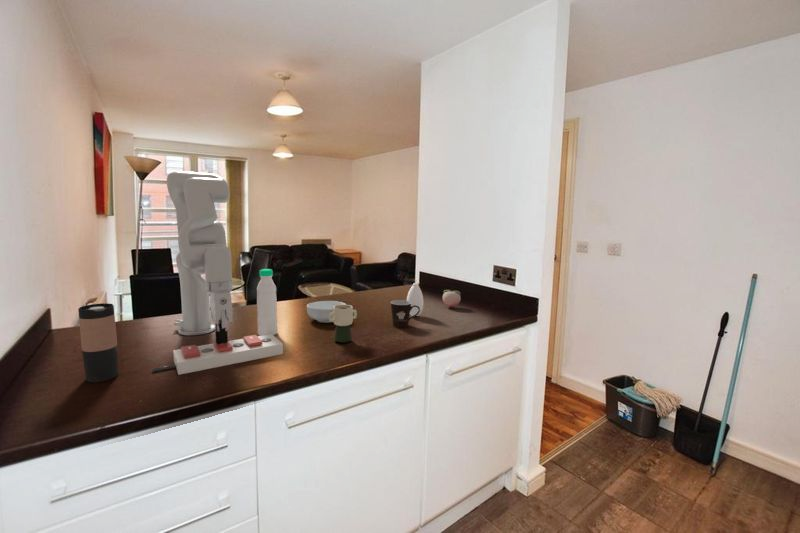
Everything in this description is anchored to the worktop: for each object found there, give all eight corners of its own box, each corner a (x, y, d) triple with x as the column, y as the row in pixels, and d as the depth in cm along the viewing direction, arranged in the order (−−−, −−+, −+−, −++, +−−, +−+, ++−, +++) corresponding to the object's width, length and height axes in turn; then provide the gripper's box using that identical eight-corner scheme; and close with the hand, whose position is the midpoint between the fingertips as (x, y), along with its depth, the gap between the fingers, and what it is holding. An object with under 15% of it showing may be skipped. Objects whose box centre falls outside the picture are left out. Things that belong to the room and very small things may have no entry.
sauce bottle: (423, 319, 170) (424, 279, 168) (406, 318, 170) (407, 279, 168) (422, 314, 178) (423, 276, 175) (406, 313, 178) (407, 276, 175)
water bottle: (271, 337, 140) (269, 271, 137) (254, 336, 141) (252, 270, 138) (280, 332, 147) (279, 268, 143) (264, 330, 148) (262, 267, 145)
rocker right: (249, 346, 120) (249, 343, 120) (243, 339, 126) (243, 336, 126) (262, 344, 122) (262, 341, 122) (255, 337, 128) (255, 334, 128)
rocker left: (184, 358, 109) (184, 354, 109) (181, 349, 116) (181, 346, 115) (200, 355, 112) (200, 351, 111) (196, 347, 118) (195, 344, 118)
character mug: (352, 336, 144) (352, 303, 142) (360, 341, 138) (360, 307, 136) (325, 340, 138) (325, 306, 136) (332, 346, 132) (332, 310, 131)
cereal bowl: (353, 319, 167) (354, 303, 166) (327, 328, 153) (327, 311, 152) (325, 313, 176) (325, 298, 175) (298, 321, 162) (298, 305, 161)
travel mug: (97, 371, 108) (91, 303, 105) (126, 371, 109) (120, 303, 106) (77, 383, 100) (70, 310, 98) (107, 382, 101) (101, 310, 98)
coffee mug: (386, 327, 157) (387, 303, 155) (395, 321, 165) (395, 299, 163) (413, 330, 152) (413, 306, 151) (420, 325, 160) (420, 302, 159)
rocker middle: (218, 352, 114) (218, 348, 114) (213, 345, 121) (213, 342, 121) (232, 349, 117) (232, 346, 117) (227, 343, 123) (226, 340, 123)
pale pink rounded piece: (441, 309, 188) (442, 289, 187) (442, 305, 196) (443, 286, 195) (460, 310, 187) (461, 290, 185) (460, 306, 195) (461, 287, 193)
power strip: (153, 379, 103) (152, 367, 103) (150, 365, 113) (149, 353, 113) (283, 353, 125) (282, 343, 124) (271, 343, 134) (271, 333, 134)
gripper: (237, 288, 114) (240, 347, 116) (226, 281, 126) (229, 334, 128) (210, 291, 110) (213, 352, 112) (201, 283, 122) (204, 338, 124)
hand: (221, 342), depth 120 cm, fingers closed
